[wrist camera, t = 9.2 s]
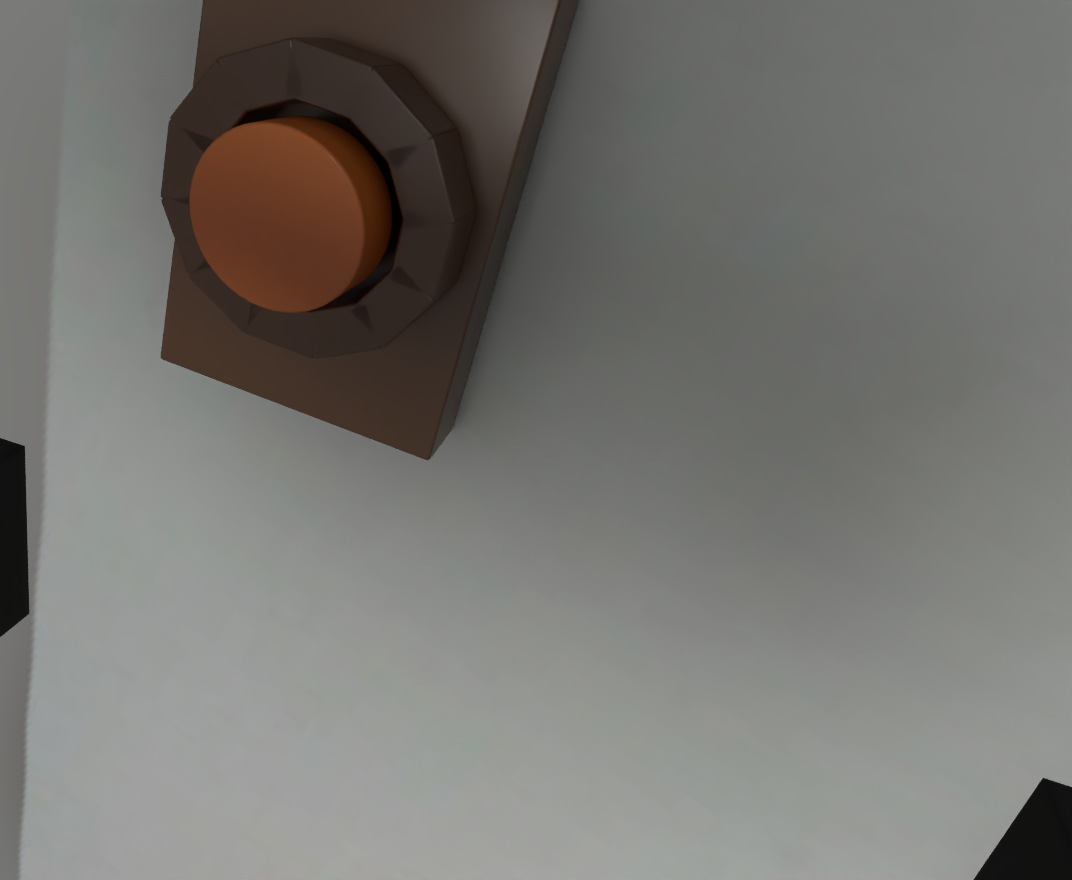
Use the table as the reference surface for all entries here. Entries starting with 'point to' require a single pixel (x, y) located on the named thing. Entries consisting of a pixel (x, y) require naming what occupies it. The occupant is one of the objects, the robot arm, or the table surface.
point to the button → (290, 212)
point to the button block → (413, 182)
